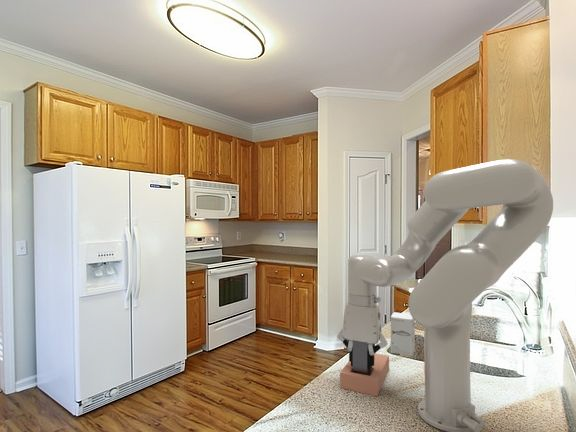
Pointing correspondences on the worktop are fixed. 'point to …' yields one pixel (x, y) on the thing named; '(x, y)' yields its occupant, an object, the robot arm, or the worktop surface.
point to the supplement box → (402, 334)
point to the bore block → (366, 376)
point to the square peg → (360, 357)
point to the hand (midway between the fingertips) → (361, 365)
